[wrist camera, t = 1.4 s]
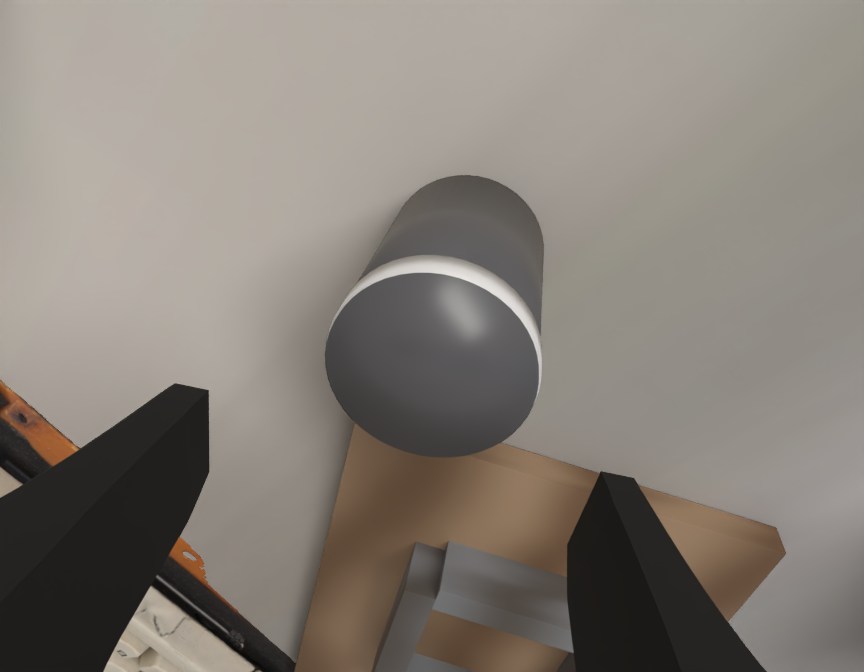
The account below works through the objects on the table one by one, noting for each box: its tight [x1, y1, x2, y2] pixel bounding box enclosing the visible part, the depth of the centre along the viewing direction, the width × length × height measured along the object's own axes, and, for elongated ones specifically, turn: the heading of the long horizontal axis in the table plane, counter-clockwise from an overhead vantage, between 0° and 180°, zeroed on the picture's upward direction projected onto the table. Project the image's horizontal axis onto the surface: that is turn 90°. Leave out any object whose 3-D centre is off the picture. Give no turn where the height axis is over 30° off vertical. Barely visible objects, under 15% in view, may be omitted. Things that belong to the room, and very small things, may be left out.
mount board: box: [294, 423, 786, 672], centre depth 27 cm, size 16×18×4 cm
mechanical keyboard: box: [0, 380, 296, 672], centre depth 33 cm, size 38×19×3 cm, turn 38°
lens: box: [325, 175, 544, 458], centre depth 17 cm, size 5×5×7 cm
